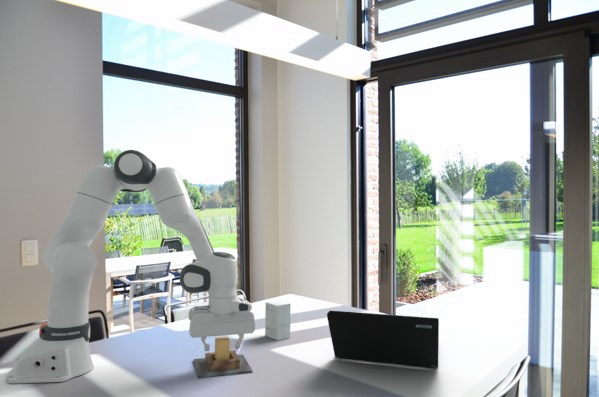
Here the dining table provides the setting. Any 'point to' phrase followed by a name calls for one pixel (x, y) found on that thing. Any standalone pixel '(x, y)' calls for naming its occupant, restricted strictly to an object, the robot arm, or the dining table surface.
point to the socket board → (221, 365)
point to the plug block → (222, 348)
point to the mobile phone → (232, 345)
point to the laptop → (385, 338)
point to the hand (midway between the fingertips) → (222, 349)
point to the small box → (277, 320)
